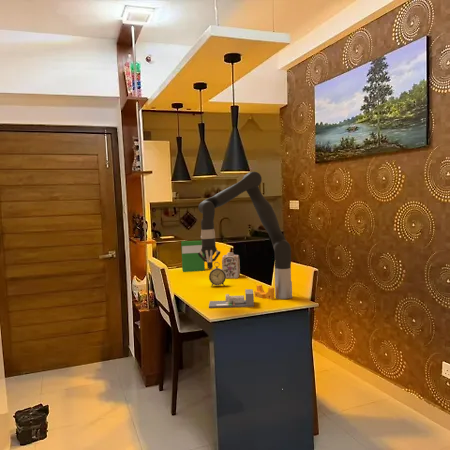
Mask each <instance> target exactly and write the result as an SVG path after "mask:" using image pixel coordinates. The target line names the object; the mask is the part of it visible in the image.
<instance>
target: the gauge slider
mask: <svg viewBox="0 0 450 450" xmlns="http://www.w3.org/2000/svg"><path fill="white" fill-rule="evenodd" d="M244 300H245V295H230V294H229V293H226V294H225V301H226V304H236V303H244Z"/></svg>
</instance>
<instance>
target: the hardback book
mask: <svg viewBox="0 0 450 450" xmlns="http://www.w3.org/2000/svg"><path fill="white" fill-rule="evenodd" d="M180 244H181V246H180V248H181V267H182V269H181V271H182V273H191V272H206V268H205V267H206V266H205V263H206V262H204V261H203V260H202V259H201V257H200V256H199V255H198V253H199V252H200V251H201V249H202V240H201V239H200V240H186V241H181V242H180ZM202 256H203V257H204V258H205V255H204V254H203V252H202Z"/></svg>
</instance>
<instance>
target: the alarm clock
mask: <svg viewBox="0 0 450 450" xmlns="http://www.w3.org/2000/svg"><path fill="white" fill-rule="evenodd" d="M216 263H217V264H219V262H218V261H214V264H213V266H214V267H215V268H212V269H211V271H210V273H209V275H208V278H209V279H208V280H209V282H210V283H211V286H210V287H211V288H212V287H213V286H221V285H223V287H225V286H226V285H225V284H224V283H225V281H226V279H227V278H226V274H225V272H224V271H223V270H222V268H219V265H216Z"/></svg>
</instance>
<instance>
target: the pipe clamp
mask: <svg viewBox="0 0 450 450" xmlns="http://www.w3.org/2000/svg"><path fill="white" fill-rule="evenodd" d="M253 293H254V298H259V299H268V300H275V287H269V288H268V290H267V292H266V291H265V290H264V288H263V285H261V284H257V285H256V290H255V291H254V290H253Z"/></svg>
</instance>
